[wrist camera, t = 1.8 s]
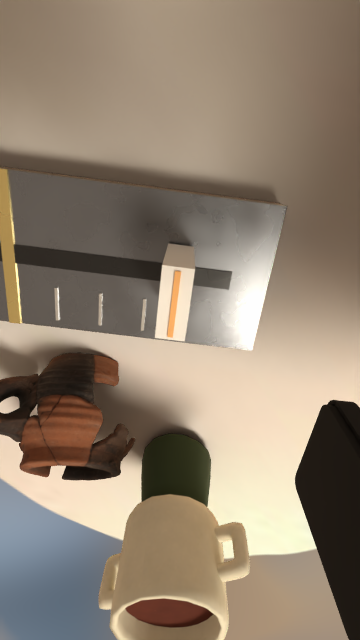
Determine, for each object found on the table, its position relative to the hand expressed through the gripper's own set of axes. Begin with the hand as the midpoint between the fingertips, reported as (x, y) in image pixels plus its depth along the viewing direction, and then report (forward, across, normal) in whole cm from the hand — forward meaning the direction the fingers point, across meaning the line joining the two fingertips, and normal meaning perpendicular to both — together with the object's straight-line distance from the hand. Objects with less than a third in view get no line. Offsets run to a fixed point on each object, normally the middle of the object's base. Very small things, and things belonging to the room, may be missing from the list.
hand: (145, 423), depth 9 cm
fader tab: (+14, -1, 0) cm, 14 cm away
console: (+16, +4, 0) cm, 17 cm away
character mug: (+16, -3, +18) cm, 24 cm away
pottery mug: (+16, +7, +12) cm, 22 cm away
